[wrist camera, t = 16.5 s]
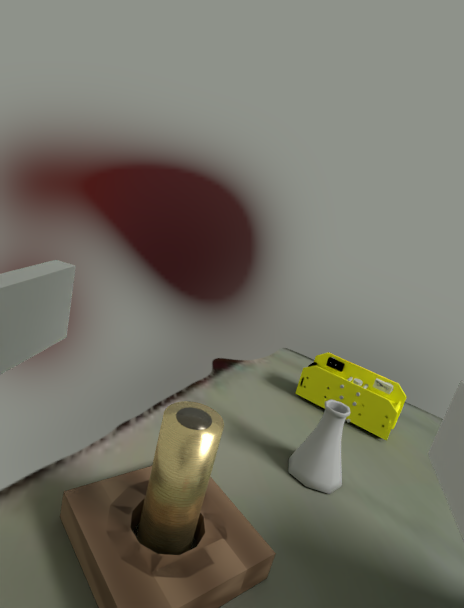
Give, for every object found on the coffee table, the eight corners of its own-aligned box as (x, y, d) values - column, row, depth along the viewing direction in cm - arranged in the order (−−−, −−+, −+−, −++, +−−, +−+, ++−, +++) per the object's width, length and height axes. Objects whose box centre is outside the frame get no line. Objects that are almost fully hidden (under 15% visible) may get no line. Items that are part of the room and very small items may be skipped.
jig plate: (185, 475, 48) (191, 454, 47) (266, 578, 38) (275, 553, 37) (60, 517, 39) (63, 491, 38) (123, 665, 29) (130, 634, 28)
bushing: (171, 518, 42) (202, 397, 38) (199, 558, 38) (236, 429, 34) (125, 536, 39) (152, 406, 35) (150, 582, 35) (184, 443, 31)
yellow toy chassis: (392, 431, 70) (410, 387, 67) (384, 445, 65) (403, 399, 62) (306, 388, 77) (319, 347, 75) (293, 398, 73) (307, 354, 70)
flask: (347, 472, 56) (372, 408, 53) (334, 504, 50) (361, 432, 47) (297, 447, 59) (318, 384, 56) (278, 473, 52) (301, 404, 50)
